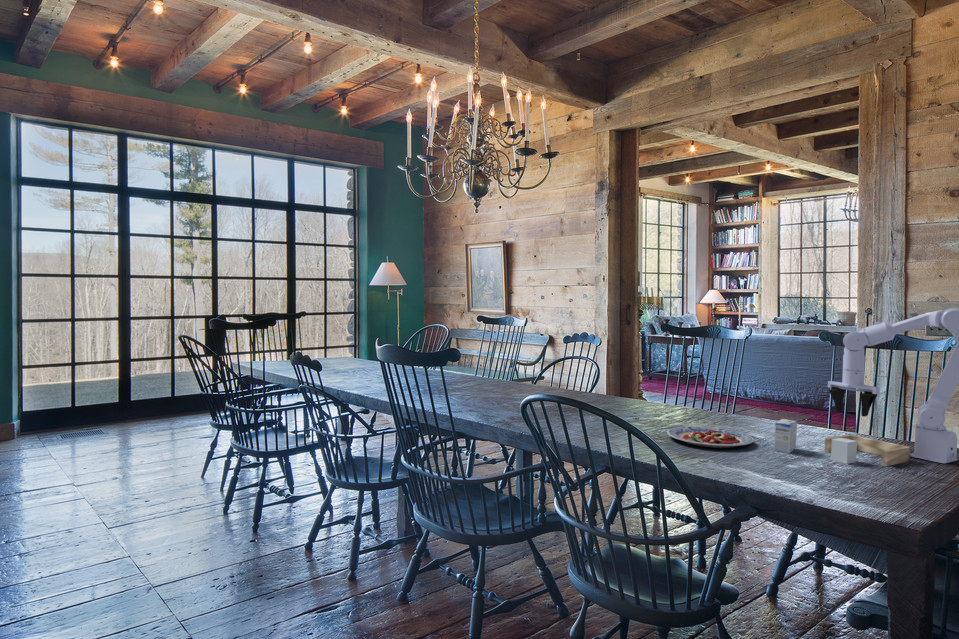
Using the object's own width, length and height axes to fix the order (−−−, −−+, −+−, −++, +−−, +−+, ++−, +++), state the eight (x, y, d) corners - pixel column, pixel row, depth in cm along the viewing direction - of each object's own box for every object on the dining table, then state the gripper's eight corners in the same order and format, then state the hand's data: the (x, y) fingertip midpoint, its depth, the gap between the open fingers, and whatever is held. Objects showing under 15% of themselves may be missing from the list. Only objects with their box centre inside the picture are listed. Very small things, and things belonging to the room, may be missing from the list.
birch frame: (910, 460, 173) (910, 447, 173) (886, 466, 167) (887, 451, 167) (848, 447, 189) (848, 434, 188) (824, 451, 183) (825, 438, 182)
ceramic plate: (718, 431, 210) (718, 422, 210) (772, 449, 185) (772, 440, 185) (651, 434, 203) (652, 425, 203) (698, 454, 178) (698, 444, 178)
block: (856, 462, 172) (857, 441, 171) (846, 464, 169) (847, 442, 169) (840, 458, 175) (841, 437, 175) (830, 460, 173) (831, 439, 173)
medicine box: (780, 446, 189) (781, 418, 188) (796, 448, 186) (797, 420, 186) (773, 451, 183) (774, 422, 182) (790, 453, 180) (791, 424, 179)
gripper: (822, 368, 192) (821, 410, 193) (870, 373, 179) (869, 419, 180) (835, 367, 196) (834, 409, 196) (884, 372, 183) (882, 417, 183)
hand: (851, 413), depth 188 cm, fingers open, 7 cm apart
